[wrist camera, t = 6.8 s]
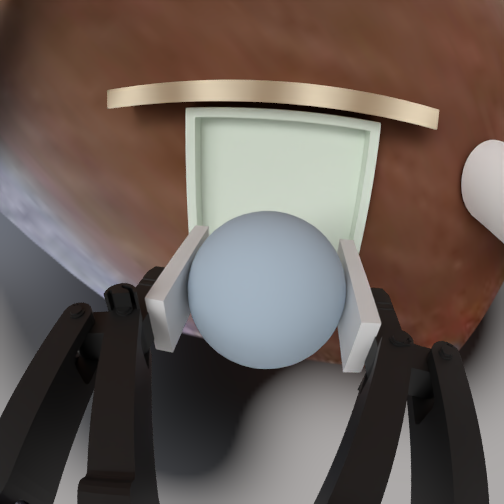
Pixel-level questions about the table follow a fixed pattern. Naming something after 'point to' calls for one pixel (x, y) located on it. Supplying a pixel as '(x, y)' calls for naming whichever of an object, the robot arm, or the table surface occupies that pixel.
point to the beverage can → (485, 185)
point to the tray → (280, 167)
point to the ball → (266, 289)
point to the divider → (275, 97)
